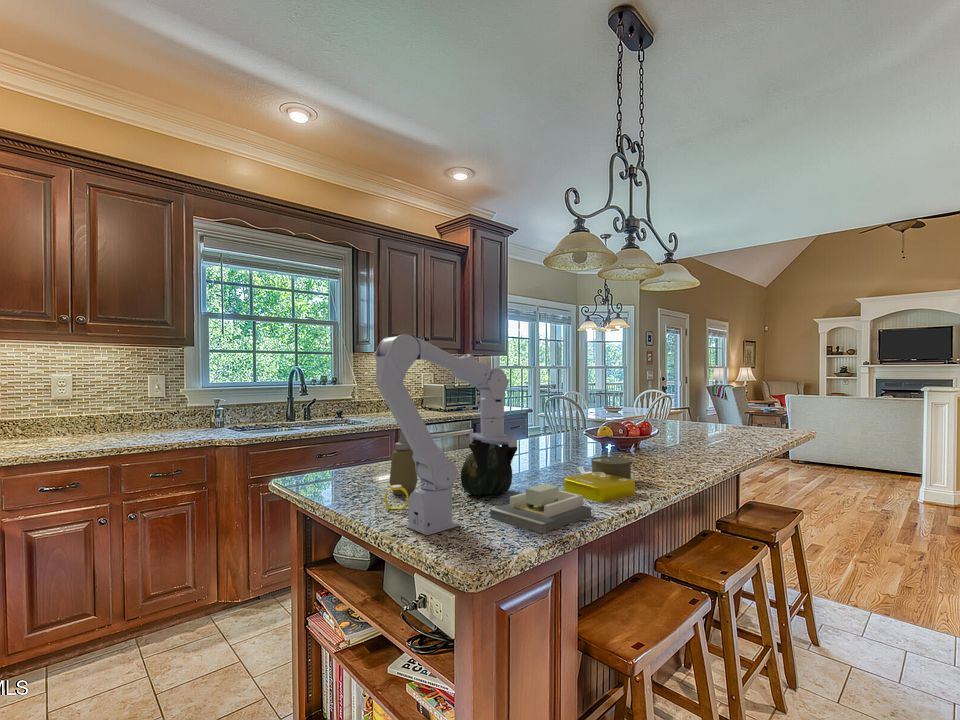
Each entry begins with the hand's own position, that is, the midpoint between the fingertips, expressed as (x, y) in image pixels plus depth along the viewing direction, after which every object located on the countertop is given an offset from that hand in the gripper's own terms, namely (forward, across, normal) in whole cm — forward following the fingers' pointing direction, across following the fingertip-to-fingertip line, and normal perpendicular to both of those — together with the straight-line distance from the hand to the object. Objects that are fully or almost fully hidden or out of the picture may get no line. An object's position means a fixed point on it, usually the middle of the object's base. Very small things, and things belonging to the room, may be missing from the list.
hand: (493, 473), depth 115 cm
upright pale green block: (+8, -9, -8) cm, 14 cm away
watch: (+10, +21, +14) cm, 27 cm away
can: (+10, -1, -50) cm, 51 cm away
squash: (+10, +16, -13) cm, 23 cm away
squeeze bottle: (+10, +33, +4) cm, 35 cm away
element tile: (+10, -6, -36) cm, 38 cm away
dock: (+10, -9, -7) cm, 15 cm away
